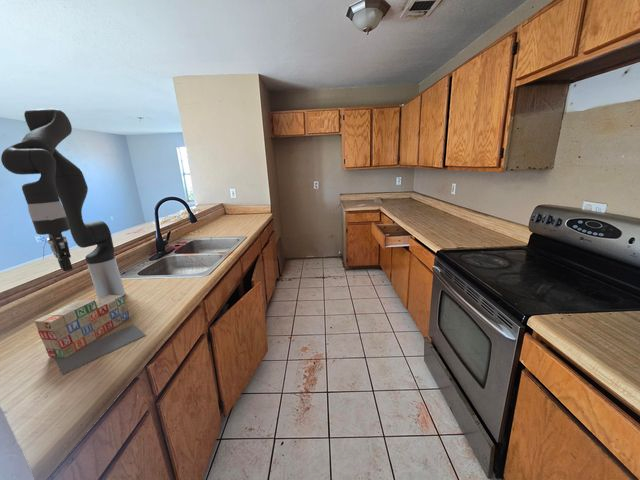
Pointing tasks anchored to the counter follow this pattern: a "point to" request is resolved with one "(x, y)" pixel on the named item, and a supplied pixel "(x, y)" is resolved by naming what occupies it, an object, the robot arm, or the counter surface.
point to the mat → (99, 348)
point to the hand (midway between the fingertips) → (66, 268)
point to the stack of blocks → (80, 324)
